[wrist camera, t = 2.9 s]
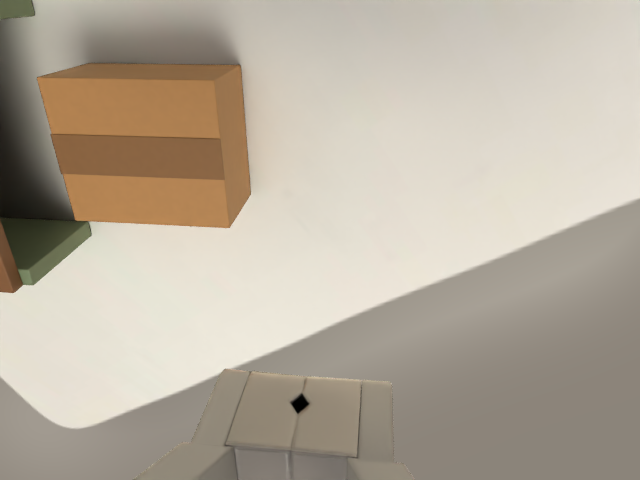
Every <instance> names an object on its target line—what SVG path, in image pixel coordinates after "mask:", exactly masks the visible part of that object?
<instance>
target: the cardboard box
mask: <svg viewBox="0 0 640 480" xmlns="http://www.w3.org/2000/svg"><path fill="white" fill-rule="evenodd" d="M37 81H38V84H39V88H40V92H41V96H42V99H43V103H44V107H45V110H46V114H47V118H48V122H49V125H50V129H51V133H52V134H51V138H52V142H53V146H54V149H55V153H56V157H57V160H58V164H59V168H60V171H61V174H63V177H64V181H65V185H66V188H67V192H68V196H69V199H70V203H71V207H72V210H73V214H74V218H75V220H76V221H97V222H117V223H138V224H158V225H179V226H199V227H219V228H230V226H231V225H232V223H233V222H234V220H235V218H236V217H237V215H238V214H239V212H240V211H241V209H242V207H243V206H244V204H245V203H246V201H247V200H248V198H249V196H250V195H251V191H250V178H249V165H248V153H247V140H246V127H245V114H244V102H243V89H242V76H241V66H240V65H205V64H122V63H88V64H84V65H80V66H77V67H73V68H69V69H66V70H62V71H58V72H55V73H51V74H47V75H43V76H40V77H37Z"/></svg>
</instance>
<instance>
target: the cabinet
mask: <svg viewBox="0 0 640 480" xmlns="http://www.w3.org/2000/svg"><path fill="white" fill-rule="evenodd" d="M34 15H35V14H34V10H33V6H32V2H31V0H0V19H7V18H18V17H28V16H34ZM90 236H91V231H90V227H89V223H88V222H85V221H64V220H44V219H23V218H3V217H0V292H8V293H14V292H16V291H17V290H18V289H19V288H20V287H22V286H23V285H34V284H35V283H37V282H38V281H39V280H40V279H41V278H42V277H44V276H45V275H46V274H47V273H48V272H49V271H51V270H52V269H53V268H54V267H55V266H56V265H58V264H59V263H60V262H61V261H62V260H63V259H65V258H66V257H67V256H68V255H69V254H70V253H71V252H73V251H74V250H75V249H76V248H77V247H78V246H80V245H81V244H82V243H83V242H84V241H85V240H87V239H88V238H89V237H90Z"/></svg>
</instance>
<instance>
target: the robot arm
mask: <svg viewBox="0 0 640 480" xmlns="http://www.w3.org/2000/svg"><path fill="white" fill-rule="evenodd" d="M392 397H393V396H392V384H391V382H389V381H374V380H362V387H361V380H355V379H340V378H326V377H312V376H307V377H306V376H298V375H288V374H278V373H268V372H259V371H242V370H234V369H224V370H223V371H222V372H221V374H220V375H219V377H218V379H217V382H216V384H215V386H214V389H213V391H212V393H211V396H210V398H209V400H208V403H207V405H206V408H205V410H204V412H203V415H202V417H201V419H200V422H199V424H198V426H197V429H196V431H195V434H194V436H193V438H192V441H191V443H188V442H182V443H180V444H179V445H178V446H176V447H175V448H174V449H172V450H171V451H170V452H169V453H167V454H166V455H164V456H163V457H162V458H161V459H159V460H158V461H157V462H155V463H154V464H153V465H152V466H150V467H149V468H147V469H146V470H145V471H144V472H142V473H141V474H140V475H138V476H137V477H136V478H134V479H133V480H415V479H414V477H413V476H412V475H411V473H410V472H409V470H408V469H407V468H406V466H405V465H404V464H403V463H397V462H394V440H393V439H394V437H393V398H392ZM360 405H361V407H360Z"/></svg>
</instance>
